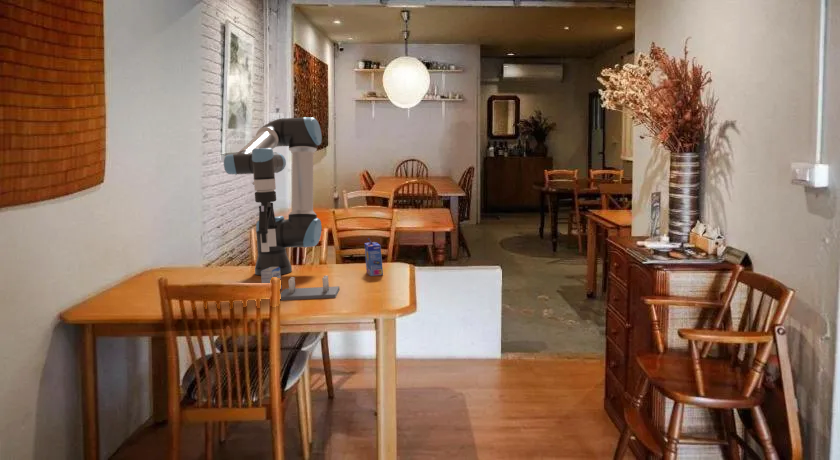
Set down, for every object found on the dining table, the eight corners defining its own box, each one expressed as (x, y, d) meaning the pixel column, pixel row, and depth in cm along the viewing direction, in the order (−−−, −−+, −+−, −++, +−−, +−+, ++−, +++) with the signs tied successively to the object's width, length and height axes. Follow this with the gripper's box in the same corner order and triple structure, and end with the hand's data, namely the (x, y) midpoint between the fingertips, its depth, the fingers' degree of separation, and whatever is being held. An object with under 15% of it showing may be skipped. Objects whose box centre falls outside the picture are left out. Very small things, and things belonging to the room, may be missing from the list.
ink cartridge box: (365, 272, 318) (363, 237, 316) (378, 271, 319) (377, 236, 317) (369, 276, 308) (367, 240, 306) (383, 275, 309) (381, 239, 307)
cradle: (284, 292, 285) (283, 275, 284) (339, 289, 285) (338, 272, 284) (277, 300, 271) (276, 282, 270) (335, 297, 271) (334, 280, 270)
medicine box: (273, 294, 283) (272, 270, 281) (262, 294, 283) (260, 270, 282) (281, 289, 290) (280, 266, 289) (270, 289, 291) (269, 266, 290)
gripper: (261, 189, 294) (265, 244, 297) (247, 194, 270) (251, 254, 272) (281, 188, 294) (285, 243, 297) (268, 193, 270) (273, 253, 272)
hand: (269, 249), depth 285 cm, fingers open, 13 cm apart
